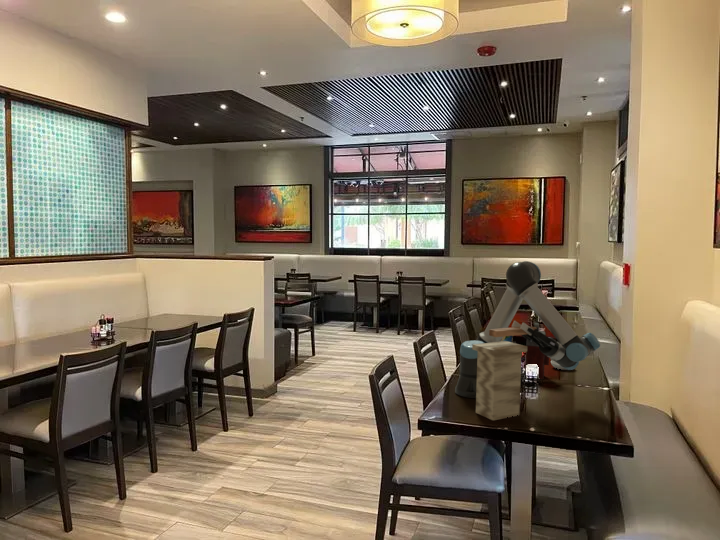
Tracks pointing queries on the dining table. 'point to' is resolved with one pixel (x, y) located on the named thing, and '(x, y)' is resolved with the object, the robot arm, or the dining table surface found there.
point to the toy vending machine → (536, 355)
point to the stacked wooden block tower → (498, 379)
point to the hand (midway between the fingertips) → (517, 324)
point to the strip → (507, 331)
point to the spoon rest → (557, 365)
